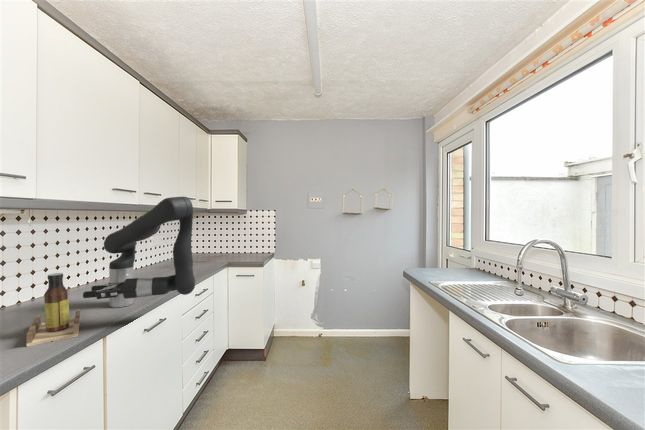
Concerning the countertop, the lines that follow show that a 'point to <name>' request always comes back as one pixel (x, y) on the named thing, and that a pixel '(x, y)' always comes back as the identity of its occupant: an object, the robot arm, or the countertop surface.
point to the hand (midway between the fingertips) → (87, 291)
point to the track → (41, 335)
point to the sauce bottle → (56, 304)
